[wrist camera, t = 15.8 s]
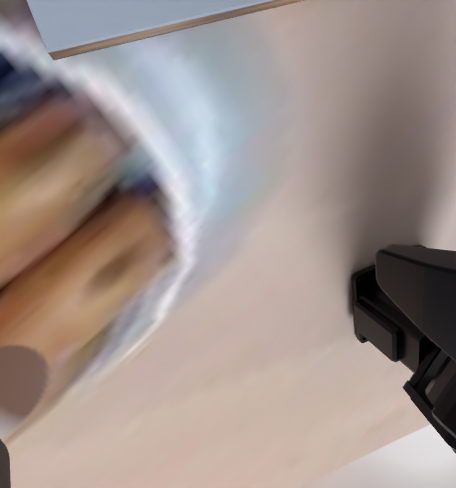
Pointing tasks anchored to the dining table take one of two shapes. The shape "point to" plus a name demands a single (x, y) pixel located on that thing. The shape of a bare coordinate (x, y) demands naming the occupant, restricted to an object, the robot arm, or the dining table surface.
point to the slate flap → (116, 17)
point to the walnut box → (168, 29)
